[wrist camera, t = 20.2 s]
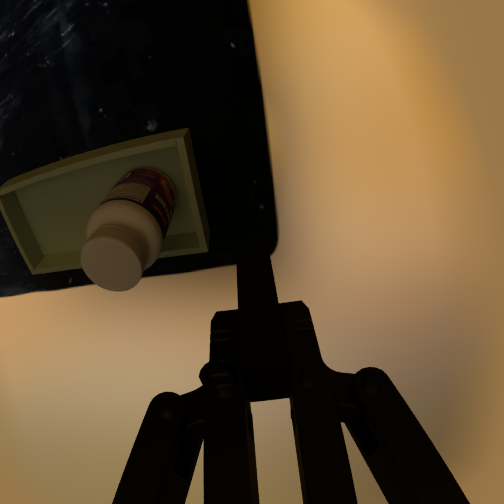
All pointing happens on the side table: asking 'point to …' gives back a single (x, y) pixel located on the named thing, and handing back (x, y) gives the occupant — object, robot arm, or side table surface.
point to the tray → (100, 199)
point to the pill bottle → (128, 229)
